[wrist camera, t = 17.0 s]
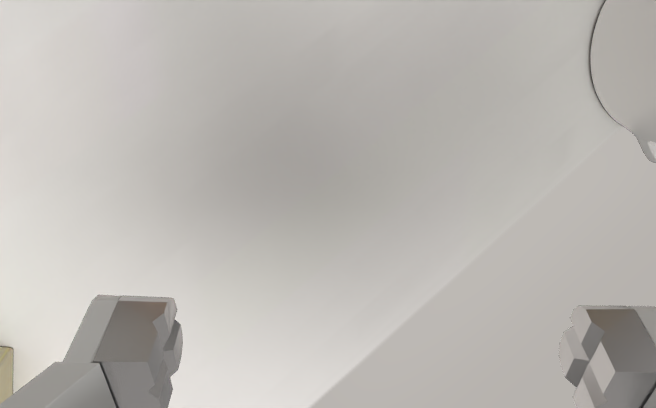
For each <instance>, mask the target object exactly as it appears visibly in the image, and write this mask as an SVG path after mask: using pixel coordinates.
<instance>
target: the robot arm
mask: <svg viewBox="0 0 656 408" xmlns="http://www.w3.org/2000/svg"><path fill="white" fill-rule="evenodd" d="M591 73H592V79H593V84H594V87H595V90H596V93H597V95H598V98H599V100H600V102H601V104H602V105H603V107H604V108H605V110H606V111H607V112H608V113H609V115H610V116H611V117H612V118H613V119H614V120H615V121H617V122H618V123H619V124H621V125H622V126H623V127H625V128H626V129H628V130H629V131H630V132H632V133H633V134H634V135H635V136H636V137H637V139H638V141H639V144H640V146H641V148H642V150H643V152H644V154H645V155H646V157H647V158H648V159H649V160H650V161H651V162H654V163H656V0H606V1H605V3H604V5H603V7H602V10H601V12H600V15H599V17H598V20H597V23H596V26H595V30H594V34H593V39H592V45H591ZM176 312H177V307H176V303H175V300H174V298H166V297H145V296H115V295H97V296H96V297H95V298H94V299H93V300H92V301H91V304H90V306H89V308H88V310H87V312H86V314H85V316H84V318H83V320H82V323H81V325H80V327H79V329H78V331H77V333H76V335H75V337H74V339H73V341H72V344H71V346H70V348H69V350H68V352H67V354H66V356H65V358H64V360H63V362H55V363H53V364H52V365H51V366H49V367H48V368H47V369H45V370H44V371H43V372H41V373H40V374H39V375H38V376H36V377H35V378H34V379H32V380H31V381H30V382H28V383H27V384H26V385H24V386H23V387H22V388H21V389H19V390H18V391H17V392H15V393H14V394H13V395H11V396H10V397H9V398H7V399H6V400H5V401H4V402H2V403H1V404H0V408H168V405H169V401H170V398H171V394H172V390H173V388H172V384H171V380H170V377H171V376H172V375H173V374H174V373H175V372H176V371H177V370H178V368H179V364H180V360H181V354H182V345H183V338H182V329H181V324H179V323H178V322H177V321H176V320H175V316H176ZM570 319H571V322H572V324H573V326H572V327H571V328H569V329H568V330H566V331H565V332H563V335H562V338H561V341H560V343H559V358H560V363H561V367H562V370H563V373H564V376H565V378H566V379H567V380H569V381H570V382H571V383H572V384H573V385H574V386H576V387H577V388H576V390H575V393H574V395H573V399H574V402H575V404H576V407H577V408H656V307H652V306H647V307H646V306H628V307H627V306H590V305H579V306H577V307H576V308H575V309H574V310H573V312H572V314H571V317H570Z"/></svg>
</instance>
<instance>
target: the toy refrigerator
mask: <svg viewBox="0 0 656 408" xmlns="http://www.w3.org/2000/svg"><path fill="white" fill-rule="evenodd" d="M11 395H13V349H12V348H9V347H0V404H1V403H2V402H4V401H5V400H6V399H7V398H9V397H10V396H11Z"/></svg>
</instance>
